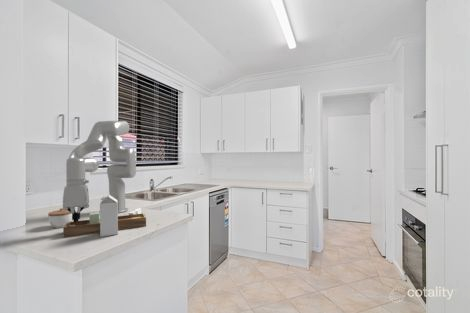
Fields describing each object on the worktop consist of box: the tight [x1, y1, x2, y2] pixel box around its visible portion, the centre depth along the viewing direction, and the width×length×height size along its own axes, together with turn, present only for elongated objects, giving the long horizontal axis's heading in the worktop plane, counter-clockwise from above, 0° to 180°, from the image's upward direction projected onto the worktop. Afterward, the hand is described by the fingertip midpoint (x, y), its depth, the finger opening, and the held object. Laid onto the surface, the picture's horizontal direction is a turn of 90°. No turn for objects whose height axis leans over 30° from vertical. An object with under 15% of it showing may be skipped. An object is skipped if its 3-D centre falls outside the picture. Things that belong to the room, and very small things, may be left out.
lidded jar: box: [47, 207, 73, 229], centre depth 120 cm, size 11×11×9 cm
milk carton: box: [99, 193, 119, 238], centre depth 107 cm, size 7×7×19 cm
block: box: [88, 211, 100, 224], centre depth 114 cm, size 4×4×5 cm
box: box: [62, 212, 147, 238], centre depth 115 cm, size 10×35×4 cm, turn 116°
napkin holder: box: [128, 207, 142, 215], centre depth 133 cm, size 15×11×6 cm
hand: (76, 220), depth 111 cm, fingers closed
